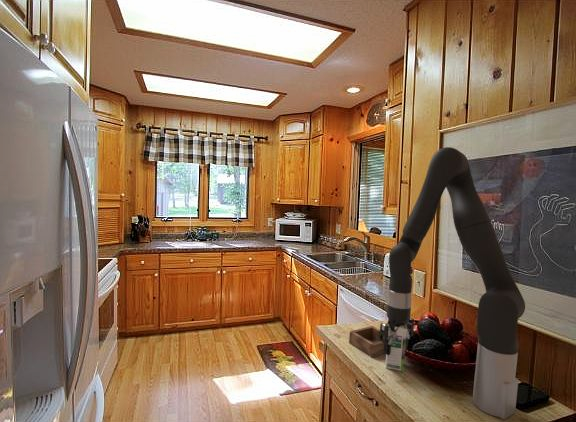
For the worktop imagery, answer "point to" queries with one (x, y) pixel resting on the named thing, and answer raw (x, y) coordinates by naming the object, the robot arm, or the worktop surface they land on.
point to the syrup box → (397, 349)
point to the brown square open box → (367, 341)
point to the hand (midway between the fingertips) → (395, 351)
